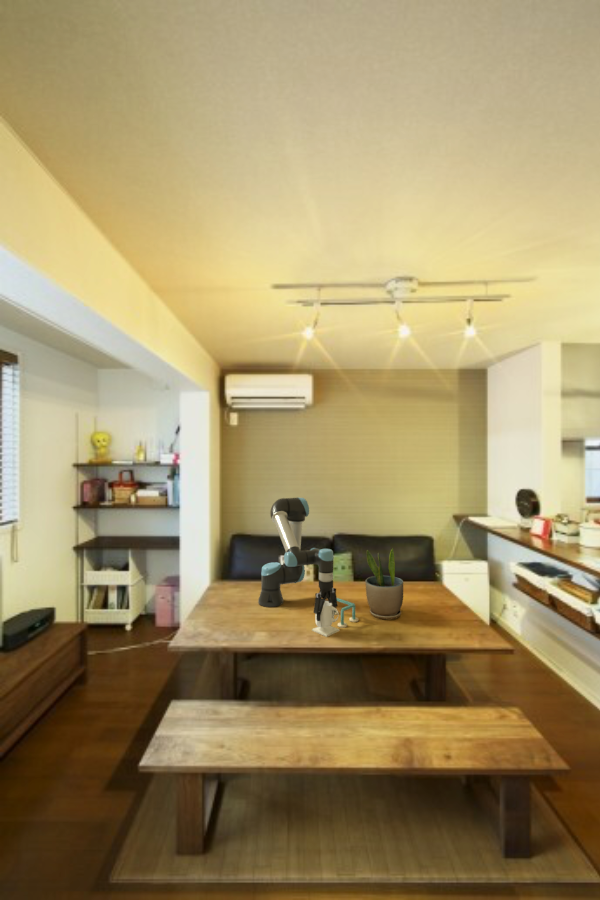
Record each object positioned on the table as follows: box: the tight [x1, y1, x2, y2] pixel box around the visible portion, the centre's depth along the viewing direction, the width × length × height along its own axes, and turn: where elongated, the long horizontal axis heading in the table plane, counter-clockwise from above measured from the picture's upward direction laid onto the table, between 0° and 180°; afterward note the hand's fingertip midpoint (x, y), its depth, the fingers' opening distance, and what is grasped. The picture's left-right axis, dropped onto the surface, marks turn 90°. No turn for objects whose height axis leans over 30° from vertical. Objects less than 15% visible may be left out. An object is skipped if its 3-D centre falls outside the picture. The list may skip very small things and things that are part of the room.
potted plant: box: [364, 548, 404, 620], centre depth 231 cm, size 21×22×40 cm
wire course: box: [334, 597, 359, 629], centre depth 224 cm, size 19×15×9 cm
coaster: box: [311, 625, 340, 638], centre depth 209 cm, size 10×10×1 cm
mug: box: [314, 600, 340, 627], centre depth 210 cm, size 9×12×11 cm
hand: (325, 623), depth 209 cm, fingers closed on mug, 9 cm apart
